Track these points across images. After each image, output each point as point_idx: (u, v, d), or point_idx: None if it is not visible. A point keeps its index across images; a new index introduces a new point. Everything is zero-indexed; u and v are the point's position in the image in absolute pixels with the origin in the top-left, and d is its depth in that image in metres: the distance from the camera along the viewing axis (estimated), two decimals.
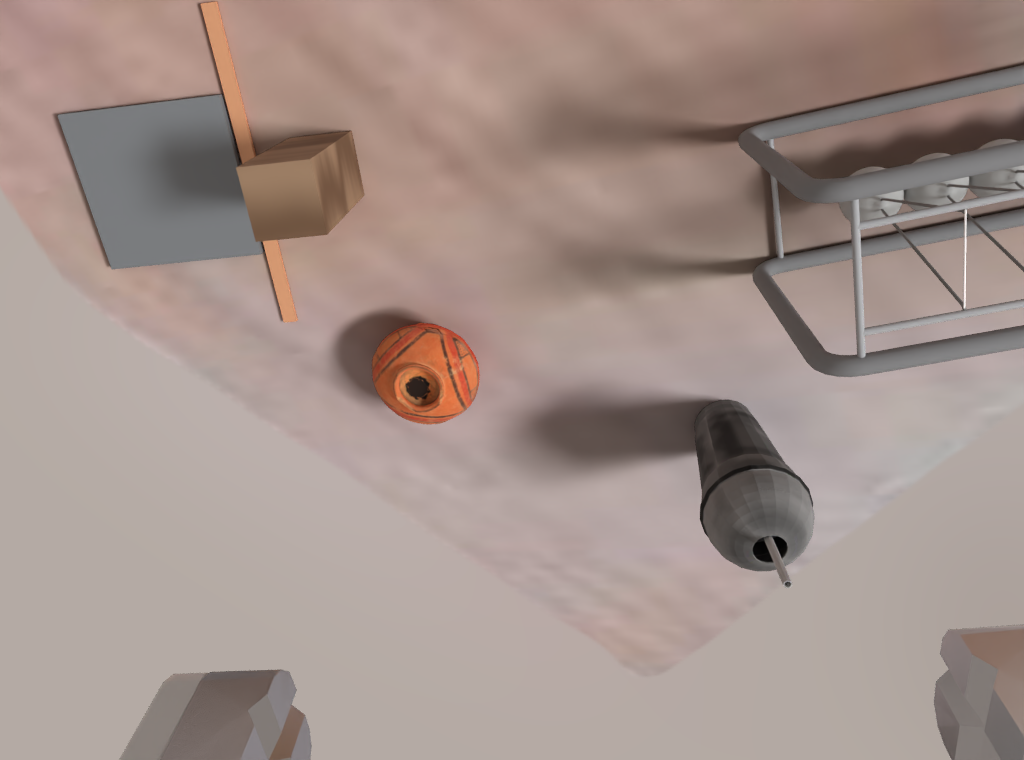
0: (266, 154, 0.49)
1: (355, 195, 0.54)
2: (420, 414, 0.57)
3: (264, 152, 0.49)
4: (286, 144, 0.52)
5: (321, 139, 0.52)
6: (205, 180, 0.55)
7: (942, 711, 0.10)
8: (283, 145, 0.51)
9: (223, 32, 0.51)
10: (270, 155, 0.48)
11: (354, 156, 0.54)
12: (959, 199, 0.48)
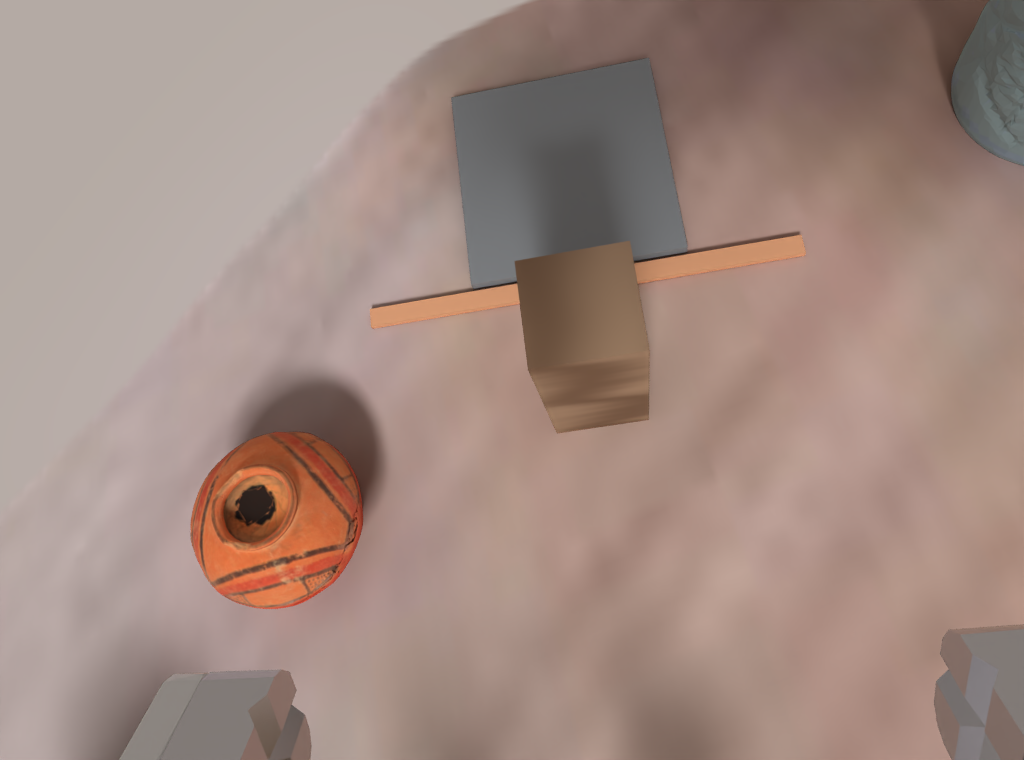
0: None
1: (563, 419, 0.36)
2: (208, 508, 0.34)
3: None
4: None
5: None
6: (572, 221, 0.41)
7: (942, 711, 0.10)
8: None
9: (767, 259, 0.39)
10: None
11: (614, 421, 0.37)
12: None
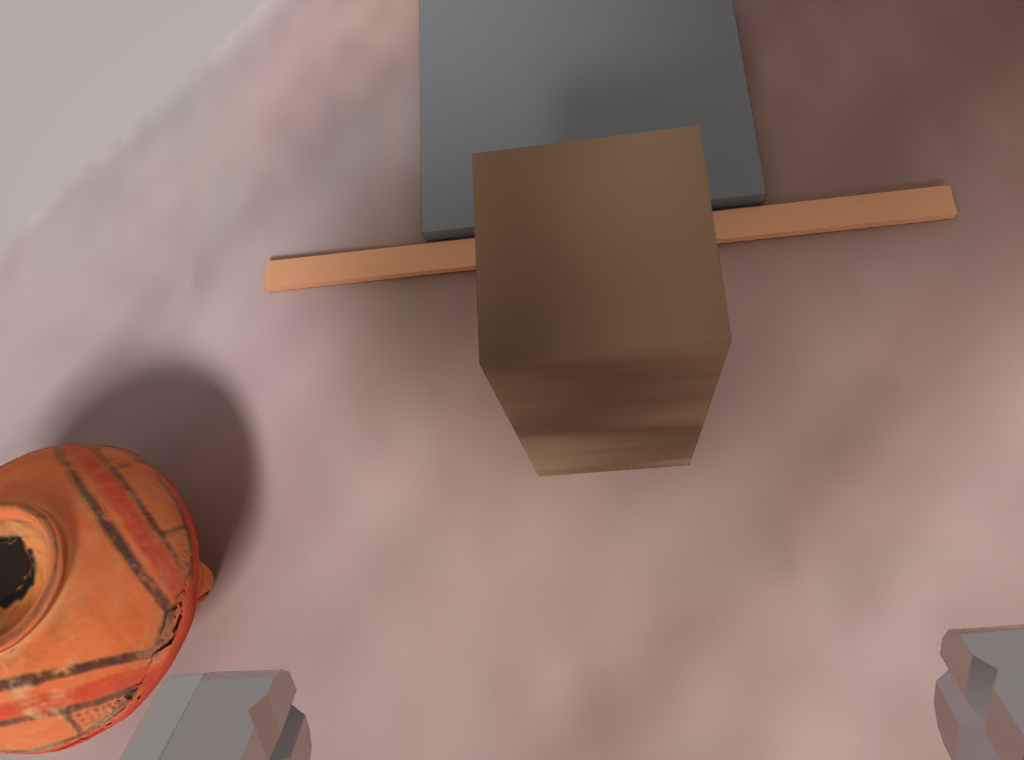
0: None
1: (549, 457, 0.21)
2: None
3: None
4: None
5: None
6: None
7: (942, 711, 0.10)
8: None
9: (893, 221, 0.24)
10: None
11: (633, 464, 0.23)
12: None
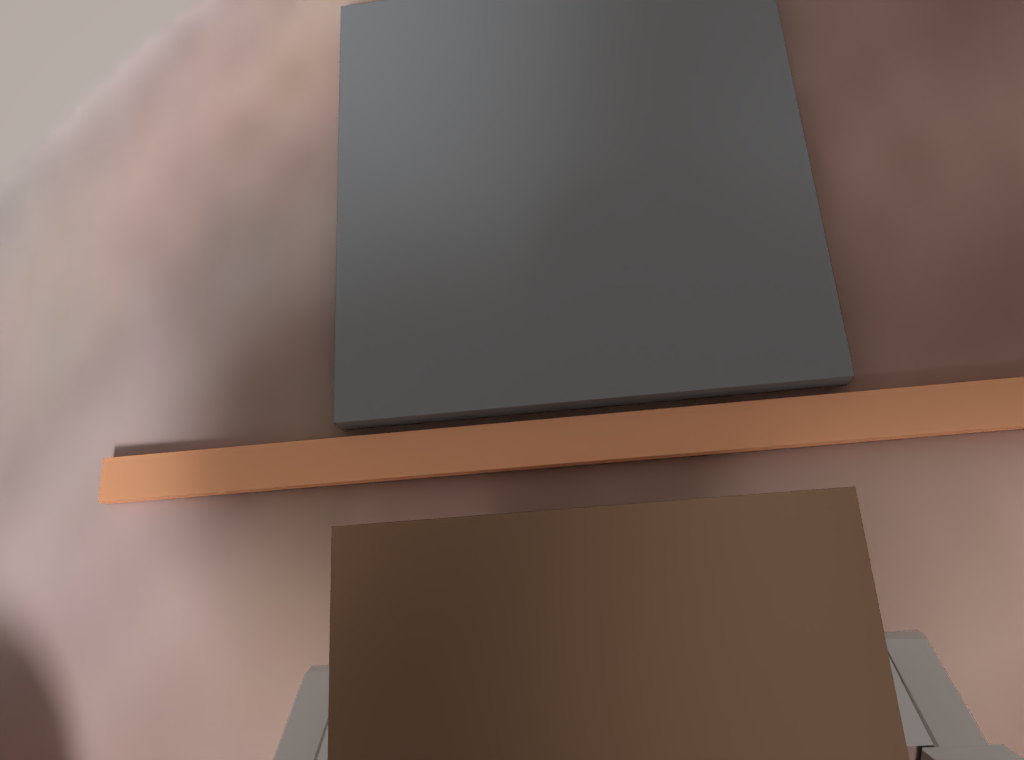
0: None
1: None
2: None
3: None
4: None
5: None
6: (580, 290, 0.18)
7: None
8: None
9: None
10: None
11: None
12: None
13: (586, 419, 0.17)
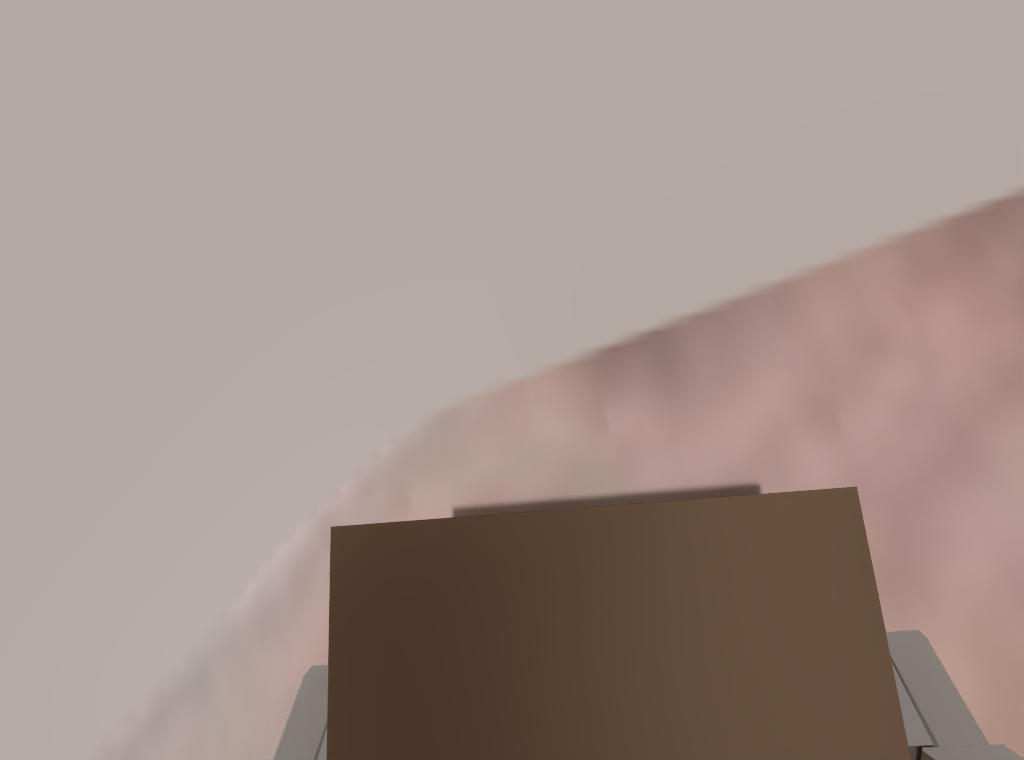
0: None
1: None
2: None
3: None
4: None
5: None
6: None
7: None
8: None
9: None
10: None
11: None
12: None
13: None
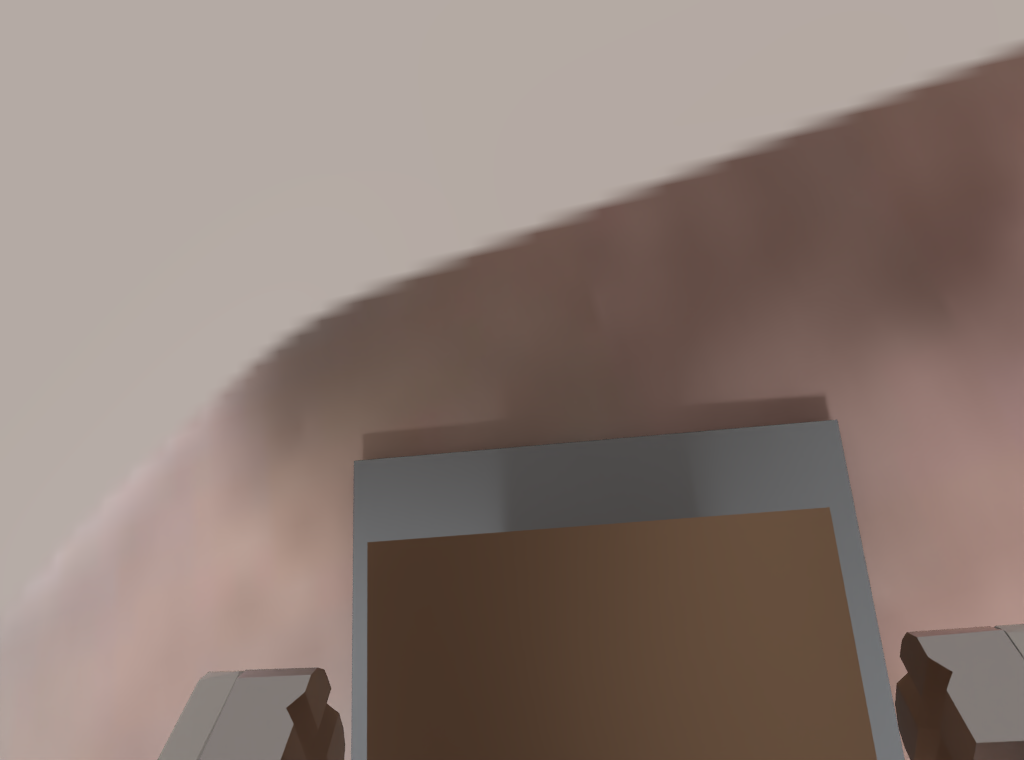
0: None
1: None
2: None
3: None
4: None
5: None
6: None
7: (902, 713, 0.10)
8: None
9: None
10: None
11: None
12: None
13: None
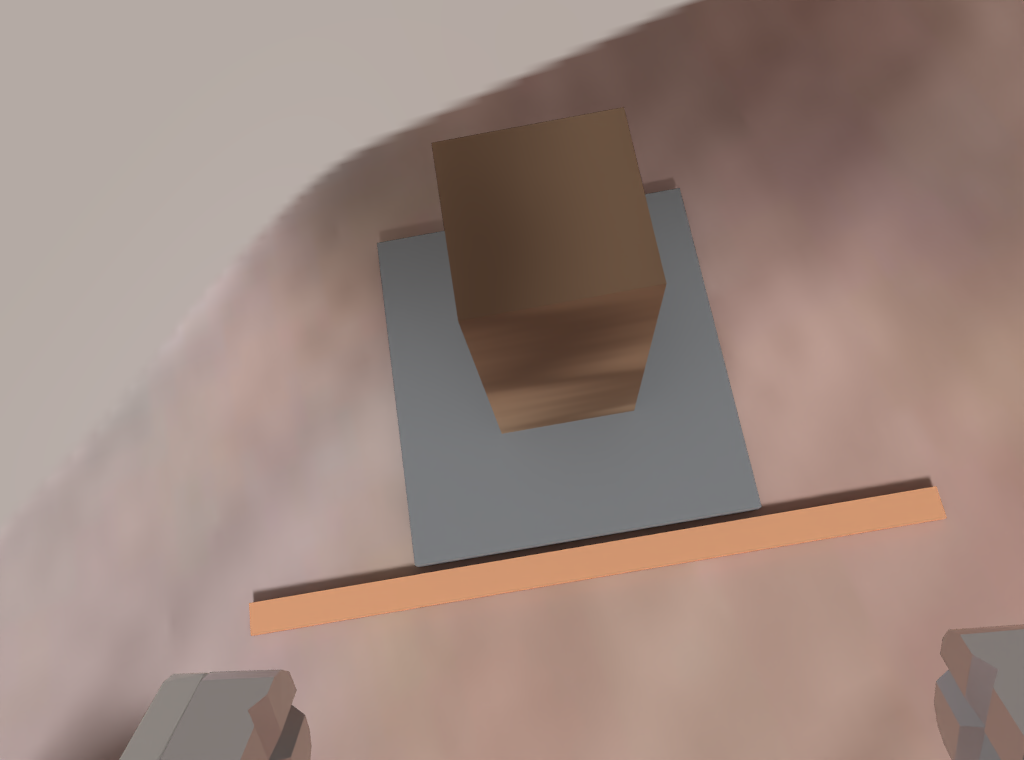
0: None
1: (512, 412, 0.24)
2: None
3: None
4: None
5: None
6: (576, 457, 0.26)
7: (942, 711, 0.10)
8: None
9: (886, 527, 0.25)
10: None
11: (585, 414, 0.25)
12: None
13: (588, 548, 0.25)
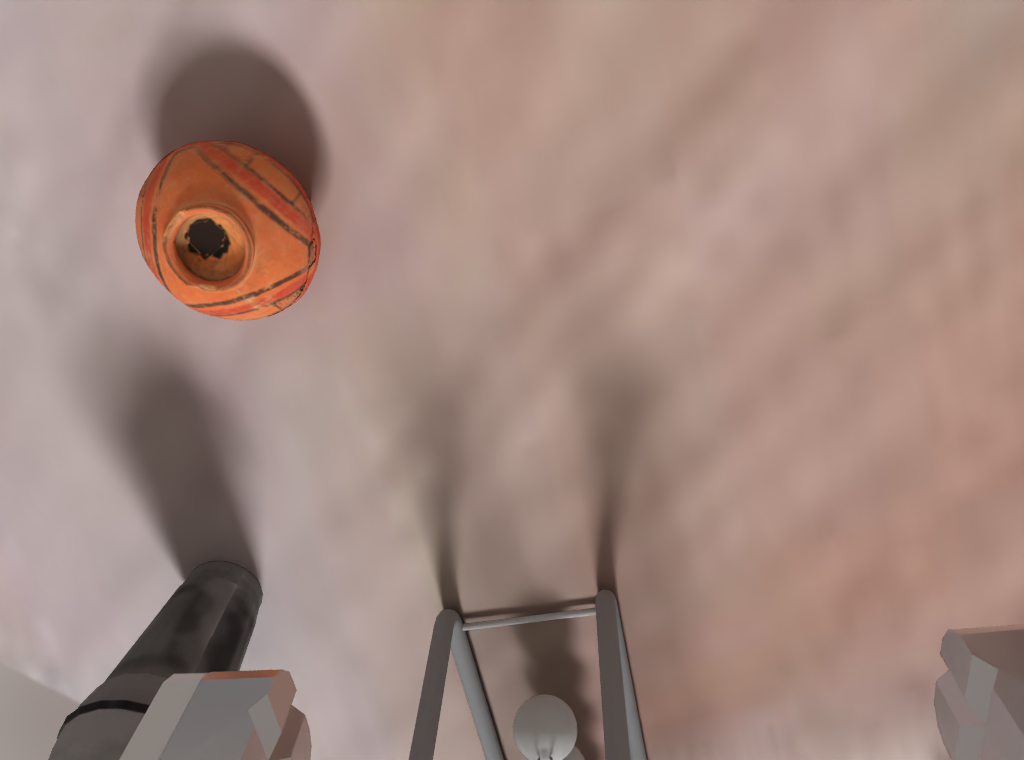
0: None
1: None
2: (158, 245, 0.33)
3: None
4: None
5: None
6: None
7: (942, 711, 0.10)
8: None
9: None
10: None
11: None
12: None
13: None
